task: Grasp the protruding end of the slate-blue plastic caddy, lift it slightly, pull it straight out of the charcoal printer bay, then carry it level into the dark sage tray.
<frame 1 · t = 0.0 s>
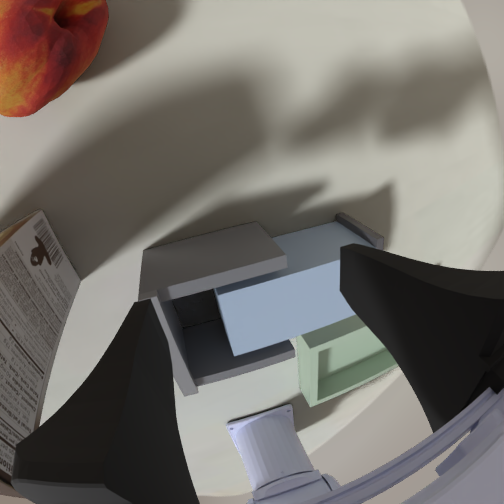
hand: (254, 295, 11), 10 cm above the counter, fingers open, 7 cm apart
fruit: (55, 58, 12), on the counter
tray: (363, 335, 30), on the counter
coffee box: (20, 266, 17), on the counter
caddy: (281, 265, 23), on the counter
printer bay: (212, 285, 22), on the counter
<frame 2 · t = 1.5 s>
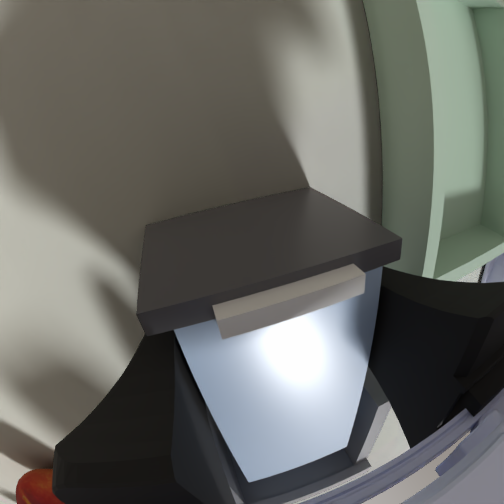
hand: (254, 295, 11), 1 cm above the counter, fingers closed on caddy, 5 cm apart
fruit: (64, 471, 15), on the counter
tray: (446, 110, 11), on the counter
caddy: (252, 322, 13), on the counter, touching gripper
printer bay: (266, 393, 15), on the counter
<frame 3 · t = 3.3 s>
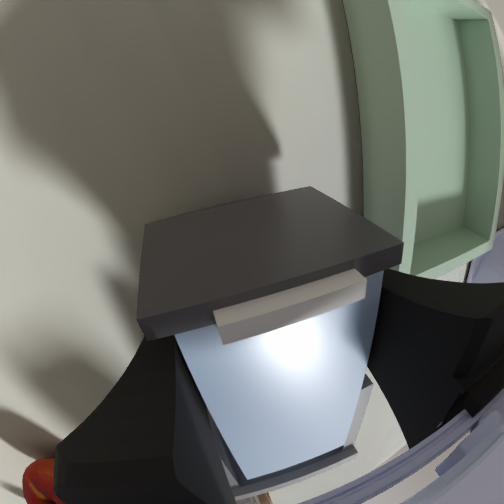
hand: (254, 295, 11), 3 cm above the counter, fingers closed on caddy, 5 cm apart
fruit: (69, 461, 17), on the counter
tray: (426, 121, 13), on the counter
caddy: (251, 320, 13), point 1 cm above the counter, touching gripper
printer bay: (259, 381, 17), on the counter
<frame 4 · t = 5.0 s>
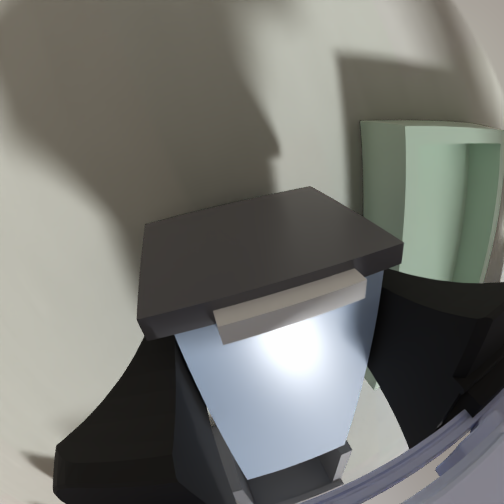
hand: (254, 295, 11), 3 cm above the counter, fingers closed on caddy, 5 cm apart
tray: (420, 247, 16), on the counter
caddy: (251, 320, 13), point 1 cm above the counter, touching gripper
printer bay: (271, 434, 21), on the counter
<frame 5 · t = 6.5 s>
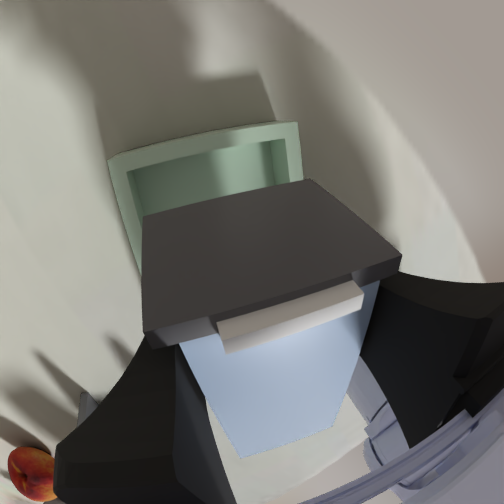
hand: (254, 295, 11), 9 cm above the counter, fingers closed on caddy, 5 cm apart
fruit: (39, 450, 24), on the counter
tray: (221, 254, 19), on the counter
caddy: (246, 305, 13), point 7 cm above the counter, tilted 9°, touching gripper
printer bay: (136, 412, 24), on the counter
when the fingers open (3 cm above the counter, at t = 8.0 s): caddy stays where it is, resting on tray.
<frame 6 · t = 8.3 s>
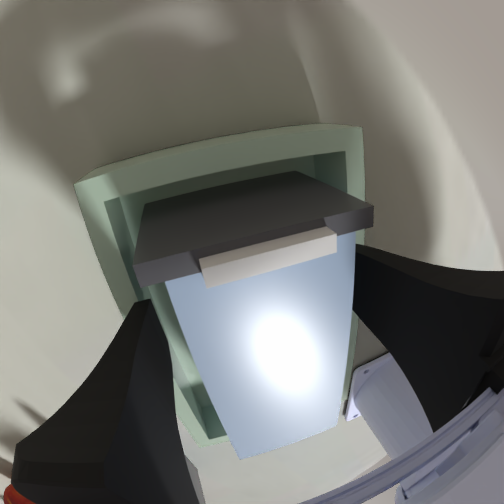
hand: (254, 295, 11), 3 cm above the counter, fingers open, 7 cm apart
fruit: (36, 483, 19), on the counter
tray: (242, 301, 14), on the counter
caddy: (243, 299, 14), resting on tray
printer bay: (139, 460, 19), on the counter
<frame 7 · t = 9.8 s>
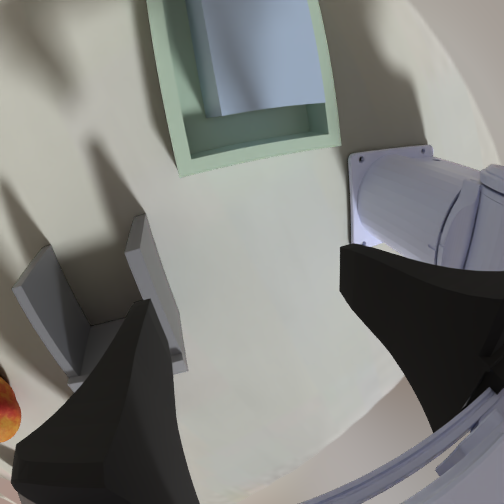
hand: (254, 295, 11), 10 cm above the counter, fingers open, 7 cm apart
tray: (231, 38, 15), on the counter
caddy: (232, 29, 14), resting on tray
printer bay: (110, 282, 19), on the counter
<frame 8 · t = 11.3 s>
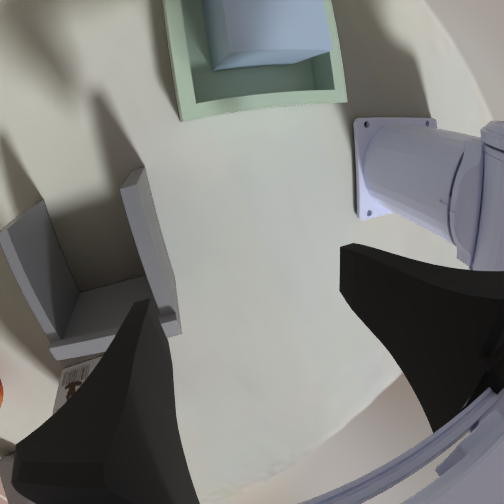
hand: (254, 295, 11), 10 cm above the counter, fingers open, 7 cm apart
tray: (239, 1, 13), on the counter
coffee box: (112, 388, 23), on the counter
coffee pot: (58, 473, 29), on the counter
printer bay: (103, 241, 18), on the counter
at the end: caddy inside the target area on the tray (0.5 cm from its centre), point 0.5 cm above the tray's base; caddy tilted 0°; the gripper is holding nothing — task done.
